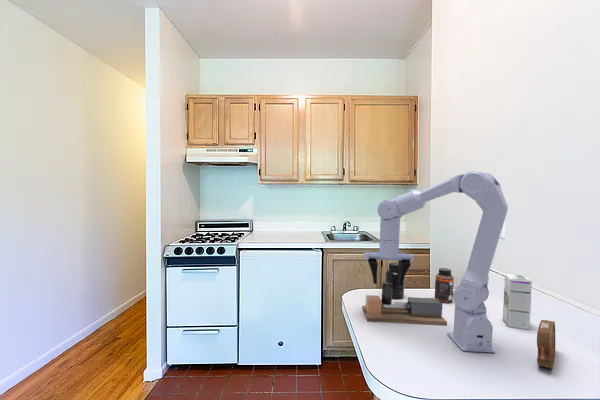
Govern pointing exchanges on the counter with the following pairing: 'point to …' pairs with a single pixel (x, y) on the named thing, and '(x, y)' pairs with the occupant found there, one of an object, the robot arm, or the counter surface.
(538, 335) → the tin
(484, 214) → the robot arm
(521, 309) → the syrup box
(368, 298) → the socket
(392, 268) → the supplement bottle
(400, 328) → the counter surface
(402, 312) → the base board
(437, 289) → the supplement bottle
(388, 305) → the slide bolt
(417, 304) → the sleeve
